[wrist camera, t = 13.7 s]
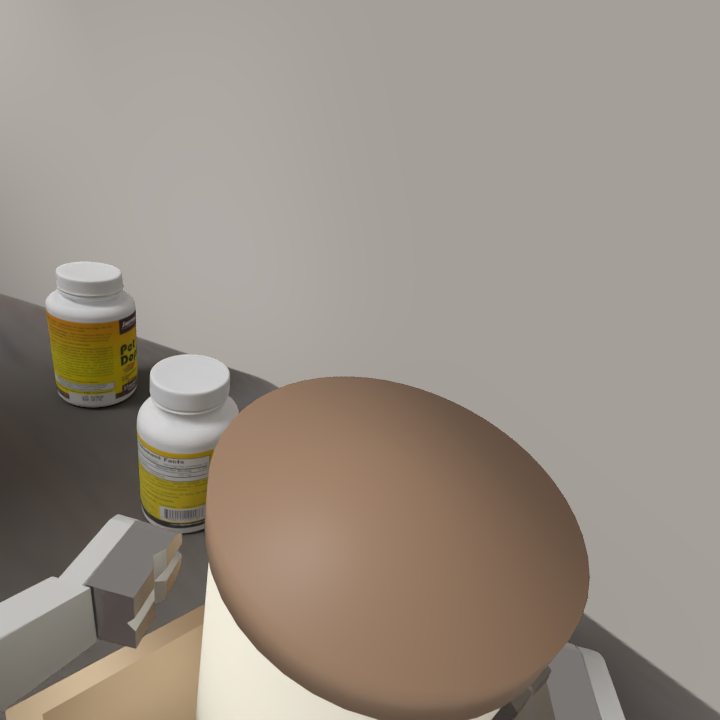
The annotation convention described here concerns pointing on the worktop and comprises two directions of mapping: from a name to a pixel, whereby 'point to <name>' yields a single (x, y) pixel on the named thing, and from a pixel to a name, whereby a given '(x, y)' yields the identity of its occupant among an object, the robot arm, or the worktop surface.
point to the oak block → (130, 681)
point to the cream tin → (380, 560)
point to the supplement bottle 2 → (181, 438)
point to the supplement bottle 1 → (92, 335)
